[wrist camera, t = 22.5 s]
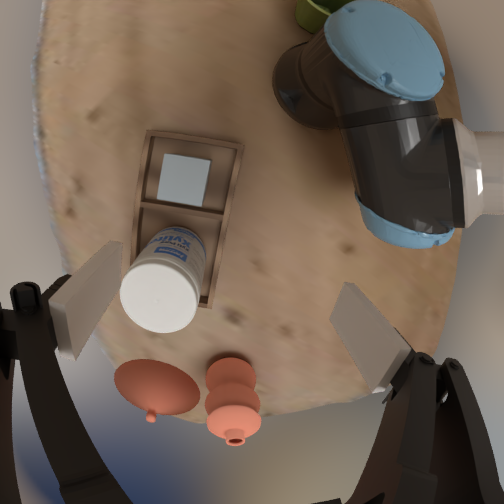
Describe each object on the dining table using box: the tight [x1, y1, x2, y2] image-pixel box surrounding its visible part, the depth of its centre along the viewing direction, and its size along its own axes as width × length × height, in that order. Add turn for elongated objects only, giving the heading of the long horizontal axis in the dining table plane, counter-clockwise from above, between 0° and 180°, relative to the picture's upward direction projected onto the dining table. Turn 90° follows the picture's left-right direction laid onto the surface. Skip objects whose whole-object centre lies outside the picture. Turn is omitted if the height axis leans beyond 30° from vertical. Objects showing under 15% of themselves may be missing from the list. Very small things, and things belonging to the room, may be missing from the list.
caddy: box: [130, 130, 244, 309], centre depth 40 cm, size 26×14×3 cm, turn 168°
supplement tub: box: [120, 227, 206, 333], centre depth 35 cm, size 10×10×15 cm
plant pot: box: [295, 0, 355, 34], centre depth 26 cm, size 12×12×11 cm
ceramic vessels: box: [114, 358, 261, 446], centre depth 45 cm, size 35×21×19 cm, turn 114°
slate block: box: [157, 153, 212, 207], centre depth 36 cm, size 6×6×6 cm
